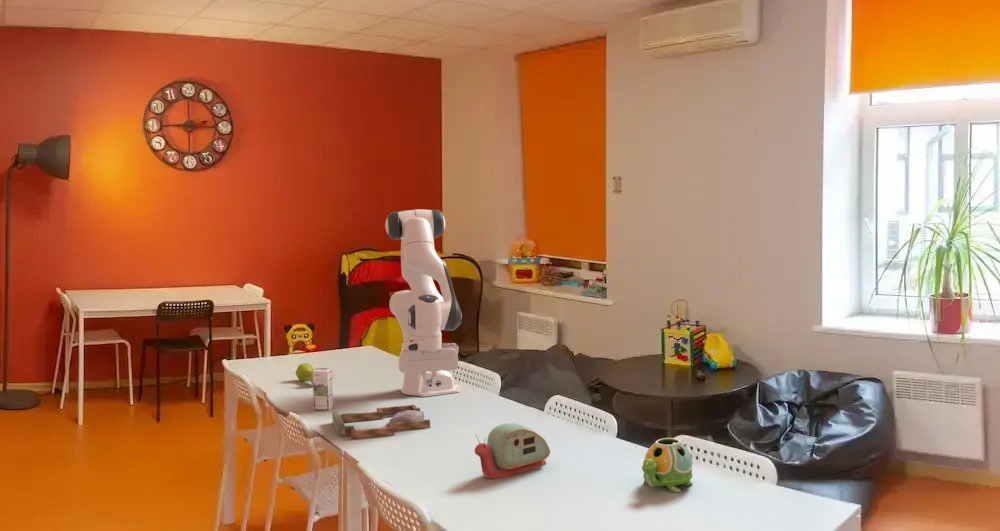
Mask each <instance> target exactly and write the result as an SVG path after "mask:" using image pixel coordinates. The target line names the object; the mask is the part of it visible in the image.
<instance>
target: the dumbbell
mask: <svg viewBox="0 0 1000 531" xmlns="http://www.w3.org/2000/svg"><path fill="white" fill-rule="evenodd" d="M314 369H315V368H314V367H313V365H312V364H311V363H308V362H304V363H300V364H299V365H298V366H297V368H296V370H295V376H296V378H297V379H298V380H299V381H300V382H307V381H310V383H311V384H312V385H313V370H314Z"/></svg>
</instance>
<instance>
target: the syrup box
mask: <svg viewBox="0 0 1000 531" xmlns="http://www.w3.org/2000/svg"><path fill="white" fill-rule="evenodd" d="M313 369H314V370H313V384H312V395H313V410H314V411H330V410H331V409H332V408H333V407H334V399H333V397H334V395H333V368H332V367H316V368H313Z"/></svg>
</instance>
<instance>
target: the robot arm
mask: <svg viewBox="0 0 1000 531" xmlns="http://www.w3.org/2000/svg"><path fill="white" fill-rule="evenodd" d="M384 226H385V231H386V234H387V235H388V237H389V238H390V239H392V240H397V241H399V240H401V242H400V265H401V266H400V267H401V276H402V278H403V279H404V281H406V282H407V284H408V285H409V288H410V289H411V290H410V289H409V290H408V289H407V290H406V289H405V290H400V291H396V292H394V293H393V294H392V295H391V297H390V299H389V304H388V306H389V310H390V312H391V314H393V316H395V318H396V319H397V321H398V324H399V326H400V328H401V332H402V337H403V342H402V343H401V348H402V350H400V353H399V357H398V370H399V371H400V373H402V374H403V383H402V386H401V387H402V388H401V394H404V395H407V396H408V395H409V396H416V397H417V396H418V397H422V398H423V397H432V396H433V397H434V396H440V395H447V394H456V393H459V392H460V391H461V388H460V386H459V384H456V383H455V381H454V380H455V379H454V378H453V375H452V373H451V372H450V371H457V370H458V368H459V357H458V356H459V355H458V354H459V350H460V348H459V345H458V344H457V343H455V342H442V341H443V340H442V335H443V334H442V331H446V332H448V331H451V332H453V331H455V330H456V329H457V328H459V327H460V325H461V324H462V320H463V319H462V318H463V317H462V311H461V309H460V304H459V302H458V299H457V296H456V293H455V290H454V286H453V282H452V279H451V278H452V277H451V275H450V272H449V271H450V270H449V268H448V265H447V264H446V261H445V260H444V259H442V258H440V256H439V255H438V253H437V251H436V249H435V240H436V239H437V238H440V237H441V236H442V235H443V234H444V232H445V230H446V218H445V216H444V213H443V212H442V211H441V210H439V209H433V208H432V209H418V208H417V209H416V208H415V209H411V210H401V211H397V210H396V211H392V212H390V213H389V214H387V217H386V220H385V224H384ZM434 280H435V281H437V283H438V286H439V288H440V292H441V294H440V292H439V290H438V288H437V287H436V285H435V283H434Z"/></svg>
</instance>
